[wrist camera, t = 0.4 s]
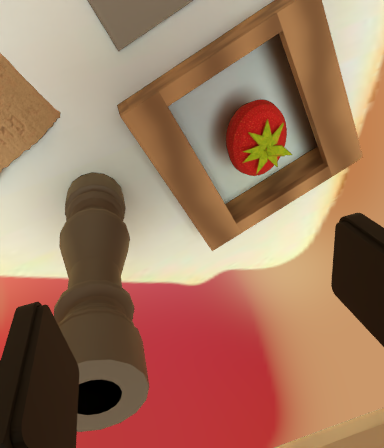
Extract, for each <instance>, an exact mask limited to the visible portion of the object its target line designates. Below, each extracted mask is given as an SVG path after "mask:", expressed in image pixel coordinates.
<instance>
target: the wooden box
mask: <svg viewBox="0 0 384 448" xmlns="http://www.w3.org/2000/svg"><path fill="white" fill-rule="evenodd" d="M278 33H279V36H280V38H281V41H282V44H283V47H284V50H285V53H286V56H287V59H288V62H289V65H290V67H291V70H292V73H293V76H294V79H295V82H296V85H297V88H298V91H299V93H300V96H301V99H302V102H303V105H304V108H305V111H306V114H307V117H308V120H309V122H310V125H311V128H312V131H313V134H314V137H315V140H316V143H317V147H316V148H314V149H313V150H311V151H309V152H308V153H306V154H305V155H303V156H301V157H300V158H298V159H297V160H295V161H293V162H292V163H290V164H289V165H287V166H286V167H284V168H282V169H281V170H279V171H278V172H276V173H274V174H273V175H271V176H270V177H268V178H266V179H265V180H263V181H262V182H260V183H259V184H257V185H255V186H254V187H252V188H251V189H249V190H247V191H246V192H244V193H243V194H241V195H239V196H238V197H236V198H235V199H233V200H232V201H230V202H228V203H227V204H224V202H223V200H222V198H221V197H220V195H219V193H218V192H217V190H216V188H215V186H214V185H213V183H212V181H211V180H210V178H209V176H208V175H207V173H206V171H205V169H204V168H203V166H202V164H201V163H200V161H199V159H198V158H197V156H196V154H195V152H194V151H193V149H192V147H191V146H190V144H189V142H188V140H187V139H186V137H185V135H184V134H183V132H182V130H181V129H180V127H179V125H178V123H177V122H176V120H175V118H174V117H173V115H172V113H171V112H170V110H169V108H168V106H169V105H171V104H172V103H174V102H175V101H177V100H178V99H180V98H181V97H183V96H184V95H186V94H187V93H189V92H190V91H192V90H193V89H195V88H196V87H198V86H200V85H201V84H203V83H204V82H206V81H207V80H209V79H210V78H212V77H213V76H215V75H216V74H218V73H219V72H221V71H222V70H224V69H225V68H227V67H228V66H230V65H231V64H233V63H234V62H236V61H237V60H239V59H240V58H242V57H244V56H245V55H247V54H248V53H250V52H251V51H253V50H254V49H256V48H257V47H259V46H260V45H262V44H263V43H265V42H266V41H268V40H269V39H271V38H272V37H274V36H275V35H277V34H278ZM117 106H118V109H119V113H120V116H121V118H122V119H123V121H124V122H125V124H126V125H127V127H128V128H129V130H130V131H131V133H132V134H133V136H134V137H135V139H136V140H137V141H138V143H139V144H140V146H141V147H142V149H143V150H144V152H145V153H146V155H147V156H148V158H149V159H150V161H151V162H152V163H153V165H154V166H155V168H156V169H157V171H158V172H159V174H160V175H161V177H162V178H163V180H164V181H165V182H166V184H167V185H168V187H169V188H170V190H171V191H172V193H173V194H174V196H175V197H176V199H177V200H178V202H179V203H180V204H181V206H182V207H183V209H184V210H185V212H186V213H187V215H188V216H189V218H190V219H191V221H192V222H193V224H194V225H195V226H196V228H197V229H198V231H199V232H200V234H201V235H202V237H203V238H204V240H205V241H206V243H207V244H208V246H209V247H210V248H211V250H212V251H213V250H215V249H216V248H218V247H220V246H221V245H223V244H224V243H226V242H228V241H229V240H231V239H233V238H234V237H236V236H237V235H239V234H241V233H242V232H244V231H245V230H247V229H249V228H250V227H252V226H253V225H255V224H257V223H258V222H260V221H261V220H263V219H265V218H266V217H268V216H270V215H271V214H273V213H274V212H276V211H278V210H279V209H281V208H282V207H284V206H286V205H287V204H289V203H290V202H292V201H294V200H295V199H297V198H299V197H300V196H302V195H303V194H305V193H307V192H308V191H310V190H311V189H313V188H315V187H316V186H318V185H319V184H321V183H323V182H324V181H326V180H328V179H329V178H331V177H332V176H334V175H336V174H337V173H339V172H340V171H342V170H344V169H345V168H347V167H348V166H350V165H352V164H353V163H355V162H356V161H358V160H360V159H361V158H363V155H362V151H361V147H360V143H359V140H358V136H357V132H356V128H355V124H354V121H353V117H352V113H351V109H350V106H349V102H348V98H347V94H346V90H345V87H344V83H343V79H342V75H341V72H340V68H339V64H338V60H337V56H336V53H335V49H334V45H333V41H332V38H331V34H330V30H329V26H328V22H327V19H326V15H325V11H324V7H323V4H322V0H275V1H273V2H272V3H270V4H269V5H267V6H266V7H264V8H263V9H261V10H260V11H258V12H257V13H255V14H254V15H252V16H251V17H249V18H248V19H246V20H245V21H243V22H242V23H240V24H239V25H237V26H236V27H234V28H233V29H231V30H230V31H228V32H227V33H225V34H224V35H222V36H221V37H219V38H218V39H216V40H215V41H213V42H212V43H210V44H209V45H207V46H206V47H204V48H203V49H201V50H200V51H198V52H197V53H195V54H194V55H192V56H191V57H189V58H188V59H186V60H185V61H183V62H182V63H180V64H179V65H177V66H176V67H174V68H173V69H171V70H170V71H168V72H167V73H165V74H164V75H162V76H161V77H159V78H158V79H156V80H155V81H153V82H152V83H150V84H149V85H147V86H146V87H144V88H143V89H141V90H140V91H138V92H137V93H135V94H134V95H132V96H131V97H129V98H128V99H126V100H125V101H123V102H122V103H120V104H119V105H117Z"/></svg>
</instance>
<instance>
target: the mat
mask: <svg viewBox="0 0 384 448" xmlns="http://www.w3.org/2000/svg"><path fill="white" fill-rule="evenodd" d="M192 1H193V0H88V2H89V3H90V5H91V7H92V8H93V10H94V11H95V13H96V15H97V16H98V18H99V20H100V21H101V23H102V24H103V26H104V28H105V29H106V31H107V33H108V34H109V36H110V38H111V39H112V41H113V42H114V44H115V46H116V47H117V49H118V51H119V50H121V49H122V48H124V47H125V46H127V45H128V44H130V43H131V42H133V41H134V40H136V39H137V38H138V37H140V36H141V35H143V34H144V33H146V32H147V31H149V30H150V29H152V28H153V27H155V26H156V25H158V24H159V23H161V22H162V21H164V20H165V19H166V18H168V17H169V16H171V15H172V14H174V13H175V12H177V11H178V10H180V9H181V8H183V7H184V6H186V5H187V4H189V3H190V2H192Z"/></svg>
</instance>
